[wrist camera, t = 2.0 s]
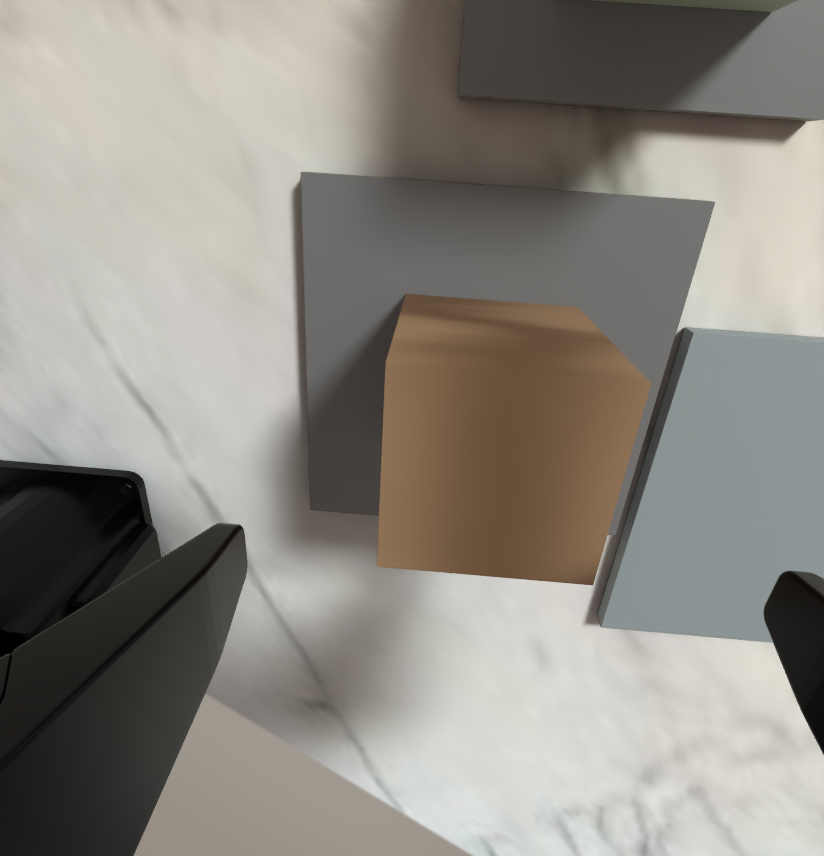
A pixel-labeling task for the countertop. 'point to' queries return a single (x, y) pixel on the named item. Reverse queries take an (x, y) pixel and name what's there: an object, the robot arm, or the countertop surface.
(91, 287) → the countertop surface
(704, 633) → the slate mat
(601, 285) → the code tile
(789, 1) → the sage block
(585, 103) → the code tile
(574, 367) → the walnut block
